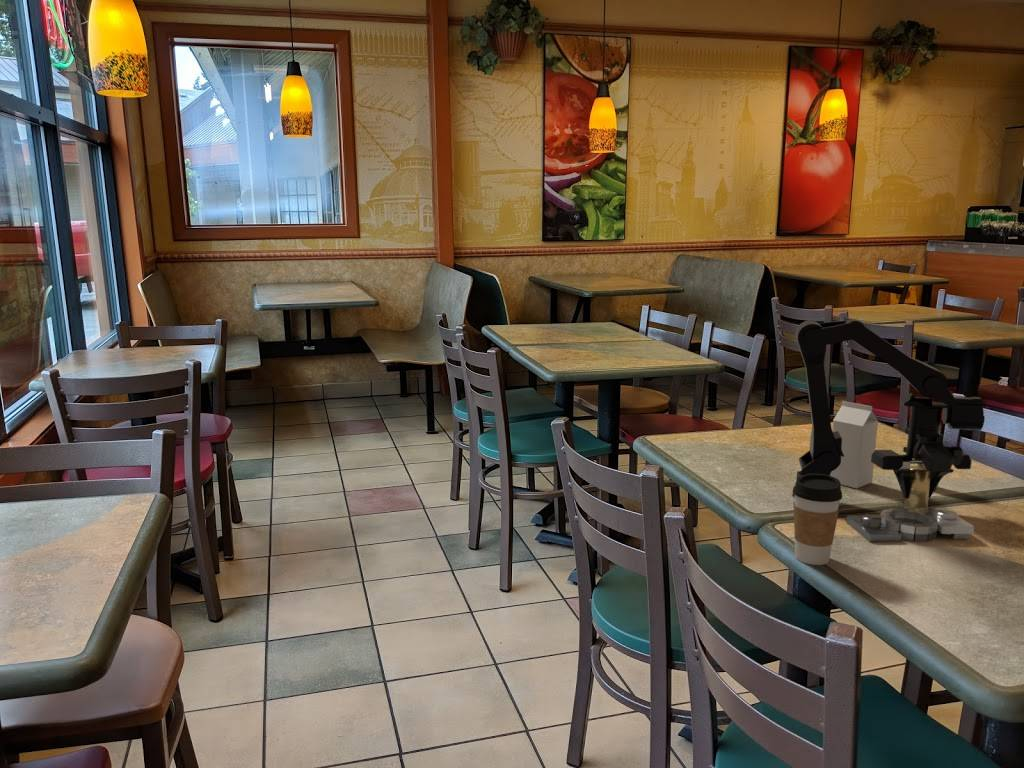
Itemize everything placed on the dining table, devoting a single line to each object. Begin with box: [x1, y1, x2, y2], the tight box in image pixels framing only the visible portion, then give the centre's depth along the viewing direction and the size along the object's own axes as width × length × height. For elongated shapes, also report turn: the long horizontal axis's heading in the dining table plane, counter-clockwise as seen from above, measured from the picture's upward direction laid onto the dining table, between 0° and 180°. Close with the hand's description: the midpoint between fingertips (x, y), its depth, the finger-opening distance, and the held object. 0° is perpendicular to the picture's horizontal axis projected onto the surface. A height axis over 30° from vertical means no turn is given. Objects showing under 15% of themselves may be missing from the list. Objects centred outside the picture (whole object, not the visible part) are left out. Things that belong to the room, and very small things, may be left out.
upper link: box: [880, 507, 975, 540], centre depth 157 cm, size 15×10×4 cm, turn 92°
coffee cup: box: [792, 474, 843, 566], centre depth 144 cm, size 8×8×15 cm
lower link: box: [846, 513, 938, 543], centre depth 157 cm, size 15×10×3 cm, turn 92°
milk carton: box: [830, 400, 879, 489], centre depth 185 cm, size 7×7×19 cm
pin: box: [903, 465, 931, 510], centre depth 169 cm, size 4×4×9 cm
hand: (916, 498), depth 169 cm, fingers closed on pin, 4 cm apart
